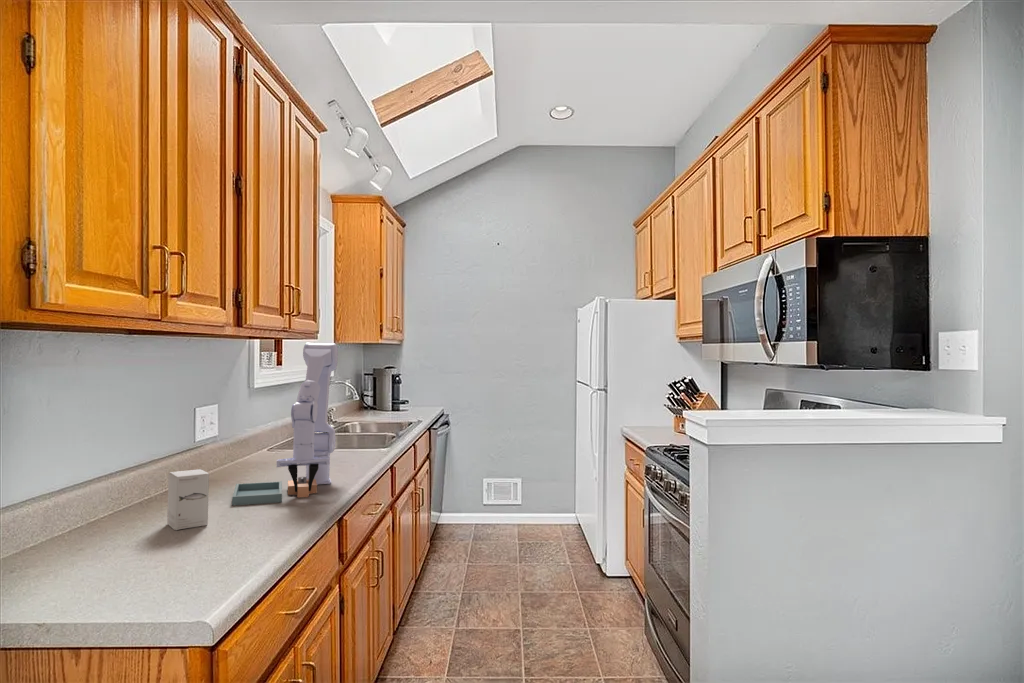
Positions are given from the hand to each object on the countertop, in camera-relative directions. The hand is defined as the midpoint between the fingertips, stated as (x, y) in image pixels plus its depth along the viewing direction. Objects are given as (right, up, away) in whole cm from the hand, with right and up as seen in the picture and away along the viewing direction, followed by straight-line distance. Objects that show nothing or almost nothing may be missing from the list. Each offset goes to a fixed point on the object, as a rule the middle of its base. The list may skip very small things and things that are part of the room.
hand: (302, 490), depth 184 cm
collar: (-1, -1, +4) cm, 4 cm away
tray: (-12, -1, -2) cm, 12 cm away
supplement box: (-17, -1, -31) cm, 36 cm away
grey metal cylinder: (-2, -1, +6) cm, 6 cm away
